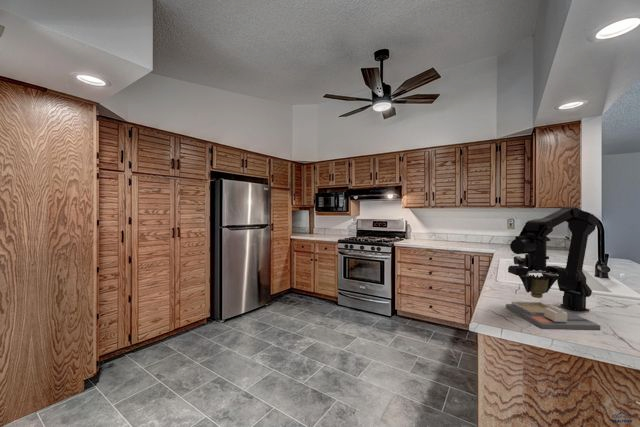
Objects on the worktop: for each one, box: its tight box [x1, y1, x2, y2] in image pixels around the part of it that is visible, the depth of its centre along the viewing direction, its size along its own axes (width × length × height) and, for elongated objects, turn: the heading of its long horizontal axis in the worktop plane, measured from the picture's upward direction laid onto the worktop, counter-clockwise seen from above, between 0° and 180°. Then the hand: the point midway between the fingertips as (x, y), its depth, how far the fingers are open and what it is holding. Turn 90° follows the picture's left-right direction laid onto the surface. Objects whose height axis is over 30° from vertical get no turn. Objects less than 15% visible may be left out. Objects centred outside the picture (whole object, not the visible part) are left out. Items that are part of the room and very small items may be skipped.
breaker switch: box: [544, 304, 567, 322], centre depth 98 cm, size 4×5×4 cm
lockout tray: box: [510, 301, 549, 316], centre depth 107 cm, size 12×12×1 cm
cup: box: [529, 274, 549, 299], centre depth 107 cm, size 8×7×8 cm
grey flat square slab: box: [505, 303, 601, 331], centre depth 104 cm, size 19×20×2 cm
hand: (536, 292), depth 107 cm, fingers closed on cup, 6 cm apart
